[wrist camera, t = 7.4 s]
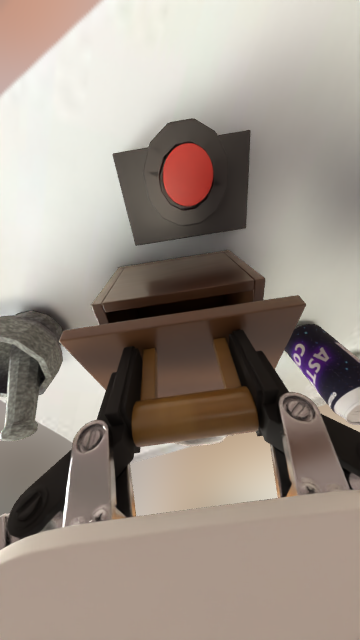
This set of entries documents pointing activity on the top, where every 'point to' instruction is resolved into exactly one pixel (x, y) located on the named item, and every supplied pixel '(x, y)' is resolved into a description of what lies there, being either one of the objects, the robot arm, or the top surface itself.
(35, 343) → the mortar and pestle
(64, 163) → the top surface
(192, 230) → the control block
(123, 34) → the top surface
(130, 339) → the wooden box lid
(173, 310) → the brown open box
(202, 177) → the button
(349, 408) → the beverage can
